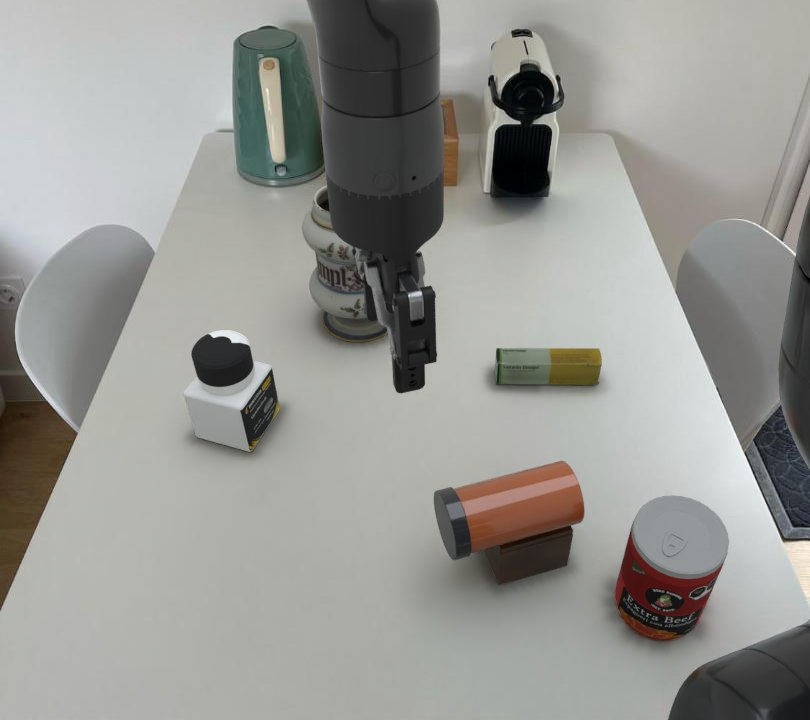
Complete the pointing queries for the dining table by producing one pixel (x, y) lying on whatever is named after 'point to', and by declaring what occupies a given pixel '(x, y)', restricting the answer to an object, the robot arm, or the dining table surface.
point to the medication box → (548, 366)
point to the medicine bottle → (230, 391)
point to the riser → (530, 555)
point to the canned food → (670, 566)
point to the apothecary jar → (336, 278)
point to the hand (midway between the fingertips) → (393, 350)
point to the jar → (508, 508)
